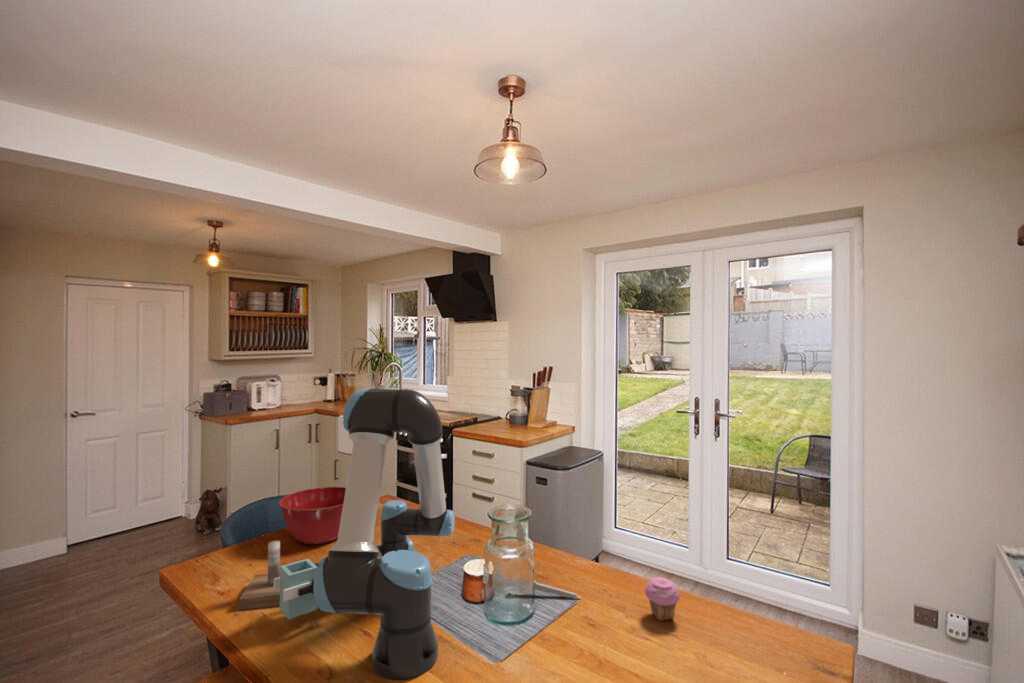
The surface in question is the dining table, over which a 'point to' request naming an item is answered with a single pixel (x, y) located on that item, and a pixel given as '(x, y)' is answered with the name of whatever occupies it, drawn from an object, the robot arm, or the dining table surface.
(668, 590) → the cupcake
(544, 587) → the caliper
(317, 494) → the mixing bowl
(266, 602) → the wooden peg stand
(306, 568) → the collar
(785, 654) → the dining table surface
